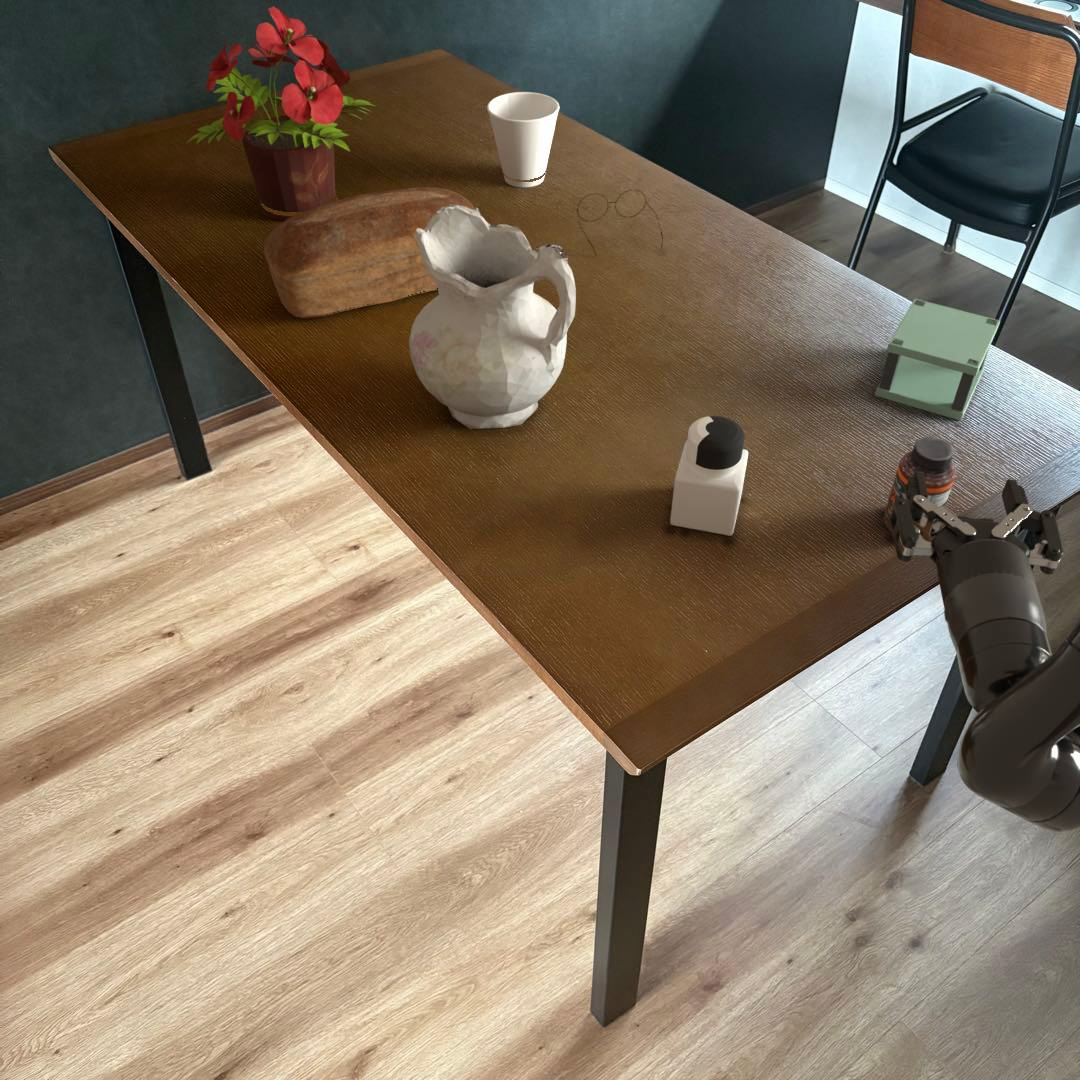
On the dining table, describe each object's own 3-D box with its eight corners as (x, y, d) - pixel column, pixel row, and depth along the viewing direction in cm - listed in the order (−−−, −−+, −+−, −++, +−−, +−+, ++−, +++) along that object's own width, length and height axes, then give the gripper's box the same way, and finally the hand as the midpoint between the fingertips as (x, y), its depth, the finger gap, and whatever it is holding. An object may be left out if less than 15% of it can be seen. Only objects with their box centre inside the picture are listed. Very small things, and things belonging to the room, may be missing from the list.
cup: (509, 200, 178) (507, 126, 170) (477, 172, 186) (474, 100, 177) (571, 184, 183) (573, 111, 174) (538, 157, 190) (537, 86, 181)
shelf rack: (982, 372, 143) (1000, 320, 137) (960, 421, 136) (978, 368, 130) (900, 349, 147) (914, 298, 141) (874, 395, 139) (888, 343, 134)
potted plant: (284, 258, 165) (246, 56, 144) (185, 201, 179) (137, 9, 158) (427, 193, 181) (411, 1, 160) (326, 145, 194) (299, -37, 173)
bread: (492, 284, 160) (489, 198, 150) (288, 332, 150) (271, 244, 141) (462, 247, 167) (457, 163, 158) (267, 291, 158) (249, 205, 149)
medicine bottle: (741, 496, 125) (755, 414, 117) (732, 537, 121) (746, 454, 112) (680, 486, 127) (690, 403, 119) (669, 526, 122) (678, 443, 114)
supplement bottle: (872, 513, 123) (894, 435, 115) (918, 502, 125) (943, 424, 117) (899, 548, 119) (924, 469, 111) (947, 536, 120) (975, 458, 113)
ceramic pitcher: (601, 389, 142) (613, 206, 127) (553, 470, 128) (558, 276, 112) (451, 358, 148) (443, 180, 132) (388, 433, 134) (371, 243, 118)
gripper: (1095, 583, 88) (1052, 457, 100) (916, 567, 89) (894, 445, 101) (1064, 643, 93) (1026, 517, 105) (895, 627, 94) (877, 505, 106)
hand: (961, 482), depth 103 cm, fingers open, 8 cm apart
